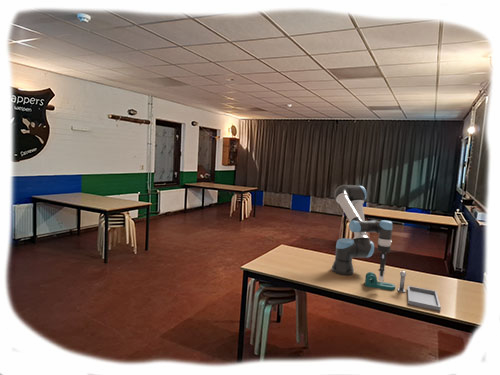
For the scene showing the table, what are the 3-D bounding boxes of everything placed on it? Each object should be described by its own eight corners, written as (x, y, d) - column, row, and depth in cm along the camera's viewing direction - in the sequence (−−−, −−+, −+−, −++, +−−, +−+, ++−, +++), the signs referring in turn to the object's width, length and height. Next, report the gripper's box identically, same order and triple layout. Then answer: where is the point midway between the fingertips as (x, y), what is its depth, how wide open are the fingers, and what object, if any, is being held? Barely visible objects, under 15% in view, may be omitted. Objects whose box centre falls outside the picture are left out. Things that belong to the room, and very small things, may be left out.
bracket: (365, 286, 210) (366, 274, 209) (364, 282, 217) (366, 271, 216) (395, 291, 205) (397, 279, 205) (394, 287, 212) (395, 275, 211)
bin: (408, 304, 187) (408, 300, 187) (407, 289, 209) (407, 285, 209) (440, 311, 181) (440, 307, 181) (435, 294, 203) (436, 291, 202)
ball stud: (397, 291, 205) (399, 271, 204) (397, 289, 209) (399, 269, 207) (404, 292, 203) (407, 273, 202) (404, 290, 207) (406, 270, 206)
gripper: (390, 250, 195) (387, 285, 197) (391, 241, 218) (388, 272, 220) (376, 248, 198) (373, 282, 200) (379, 240, 221) (376, 270, 223)
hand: (381, 277), depth 210 cm, fingers open, 13 cm apart
